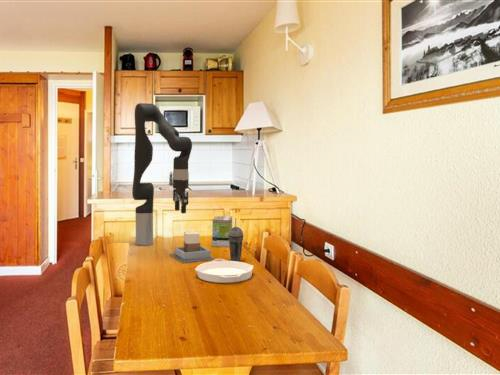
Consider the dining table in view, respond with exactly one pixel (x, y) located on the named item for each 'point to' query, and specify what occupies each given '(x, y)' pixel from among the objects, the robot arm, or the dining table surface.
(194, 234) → the cream block
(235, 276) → the pan
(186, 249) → the walnut block
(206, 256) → the grey shallow box
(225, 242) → the tea box
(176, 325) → the dining table surface
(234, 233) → the beverage cup
